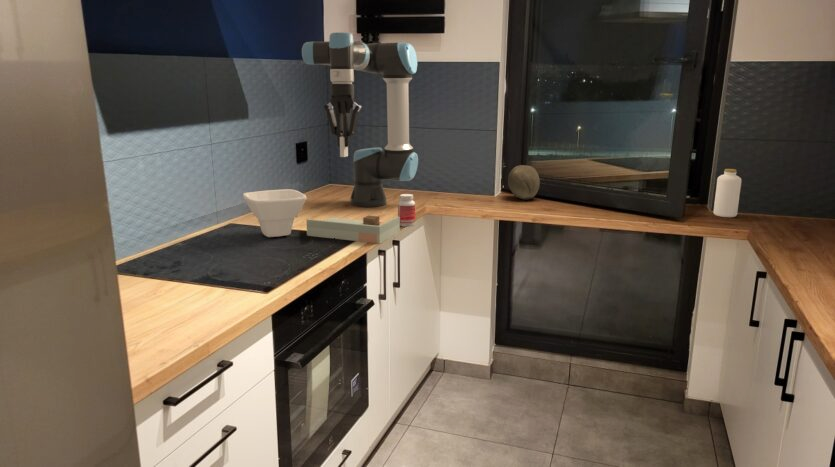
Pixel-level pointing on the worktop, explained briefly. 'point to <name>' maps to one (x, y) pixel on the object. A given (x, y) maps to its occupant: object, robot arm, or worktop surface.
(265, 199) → the bowl
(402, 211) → the pill bottle
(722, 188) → the potion bottle
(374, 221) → the walnut block
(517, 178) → the cantaloupe
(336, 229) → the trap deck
